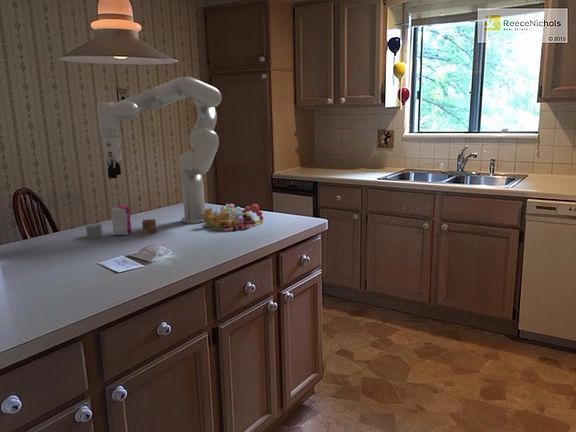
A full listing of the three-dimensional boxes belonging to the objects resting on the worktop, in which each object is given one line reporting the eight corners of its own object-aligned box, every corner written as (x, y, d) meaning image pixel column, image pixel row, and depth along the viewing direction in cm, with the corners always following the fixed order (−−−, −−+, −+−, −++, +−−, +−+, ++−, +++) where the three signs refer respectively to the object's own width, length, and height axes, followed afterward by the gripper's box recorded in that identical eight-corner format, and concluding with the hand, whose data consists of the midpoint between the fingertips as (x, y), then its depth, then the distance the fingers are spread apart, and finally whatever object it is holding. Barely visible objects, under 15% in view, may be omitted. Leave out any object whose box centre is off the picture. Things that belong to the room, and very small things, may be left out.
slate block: (102, 234, 204) (101, 223, 203) (100, 237, 199) (99, 225, 198) (90, 235, 203) (88, 223, 202) (87, 238, 198) (86, 226, 197)
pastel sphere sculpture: (236, 235, 197) (235, 213, 195) (193, 228, 209) (191, 208, 207) (270, 221, 218) (269, 201, 216) (229, 216, 230) (228, 197, 228)
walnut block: (156, 230, 208) (155, 219, 207) (155, 233, 203) (154, 221, 202) (144, 231, 207) (143, 220, 206) (143, 234, 202) (142, 222, 201)
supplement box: (127, 235, 200) (124, 208, 197) (113, 236, 200) (110, 209, 198) (132, 232, 206) (129, 205, 203) (118, 232, 206) (115, 206, 203)
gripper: (116, 134, 186) (121, 179, 190) (123, 132, 203) (127, 173, 207) (95, 135, 185) (101, 180, 189) (104, 133, 202) (109, 174, 206)
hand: (115, 176), depth 198 cm, fingers open, 9 cm apart
